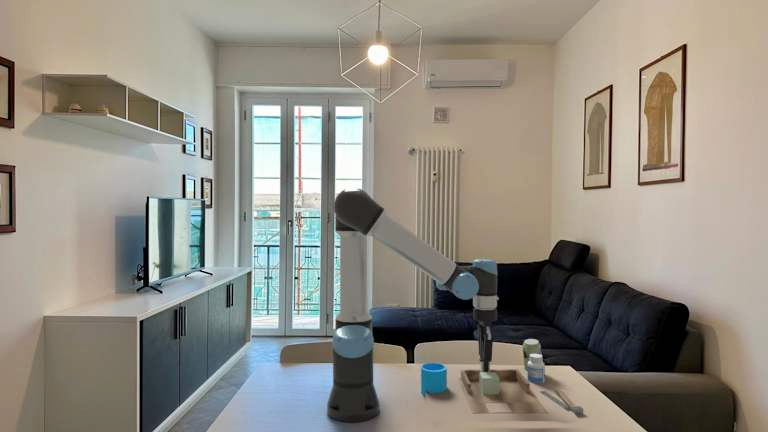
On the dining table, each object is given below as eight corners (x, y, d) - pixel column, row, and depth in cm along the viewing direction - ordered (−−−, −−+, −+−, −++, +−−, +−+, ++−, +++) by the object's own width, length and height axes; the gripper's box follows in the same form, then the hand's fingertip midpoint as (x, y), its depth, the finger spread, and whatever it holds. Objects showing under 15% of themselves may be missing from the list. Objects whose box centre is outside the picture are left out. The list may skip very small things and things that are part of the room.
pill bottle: (532, 380, 159) (532, 351, 159) (547, 384, 155) (547, 355, 155) (524, 384, 155) (524, 355, 155) (539, 389, 151) (539, 359, 151)
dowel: (571, 413, 135) (571, 407, 135) (557, 396, 147) (557, 391, 147) (576, 413, 135) (576, 407, 135) (562, 396, 147) (562, 391, 147)
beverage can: (544, 372, 167) (544, 338, 166) (538, 378, 160) (539, 343, 160) (526, 369, 170) (526, 336, 170) (520, 375, 164) (520, 341, 164)
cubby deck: (472, 418, 131) (472, 402, 131) (457, 382, 157) (457, 369, 157) (548, 418, 131) (548, 402, 131) (520, 382, 157) (520, 369, 157)
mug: (446, 398, 145) (446, 372, 144) (419, 396, 146) (419, 370, 146) (447, 384, 156) (447, 359, 156) (423, 382, 158) (423, 358, 158)
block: (482, 394, 144) (482, 378, 144) (479, 388, 149) (479, 372, 149) (499, 394, 144) (499, 378, 144) (495, 388, 149) (495, 372, 149)
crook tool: (567, 416, 132) (567, 410, 132) (539, 397, 145) (539, 391, 145) (583, 414, 133) (583, 408, 133) (554, 395, 147) (554, 389, 147)
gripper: (502, 312, 145) (501, 388, 145) (491, 303, 158) (491, 373, 158) (477, 312, 145) (477, 388, 145) (469, 303, 158) (469, 373, 158)
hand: (485, 380), depth 152 cm, fingers closed
